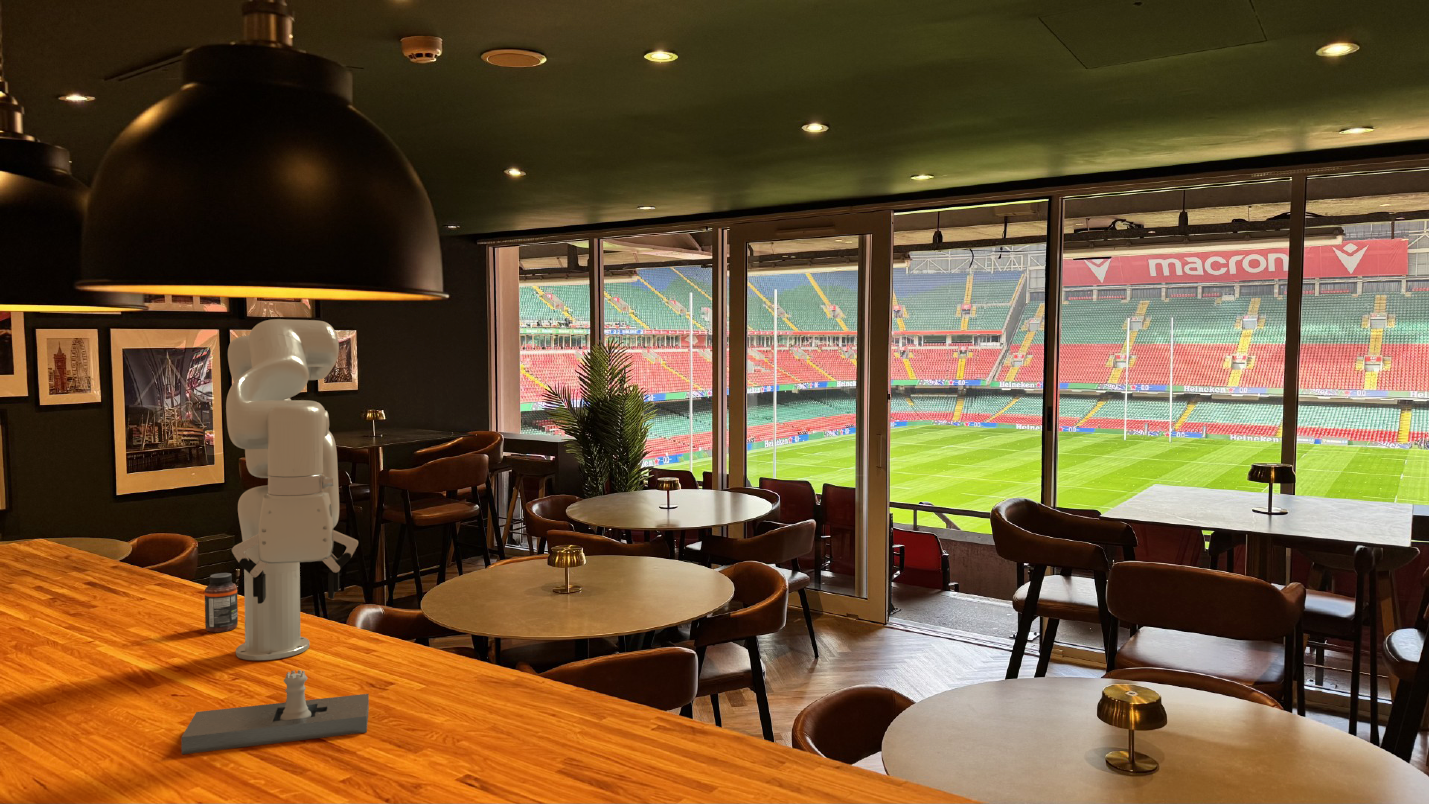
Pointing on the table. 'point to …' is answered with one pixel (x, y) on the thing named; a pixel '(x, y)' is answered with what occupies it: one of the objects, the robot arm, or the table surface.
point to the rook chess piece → (295, 697)
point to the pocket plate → (274, 724)
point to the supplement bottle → (221, 603)
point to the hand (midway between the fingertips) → (297, 598)
